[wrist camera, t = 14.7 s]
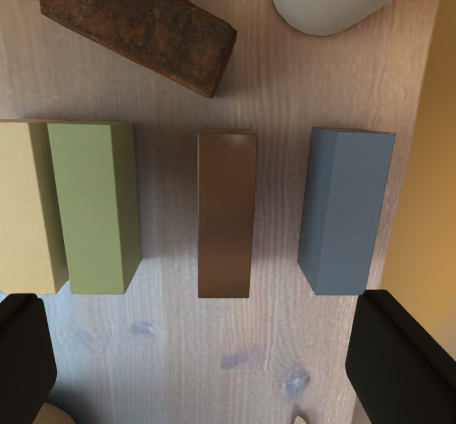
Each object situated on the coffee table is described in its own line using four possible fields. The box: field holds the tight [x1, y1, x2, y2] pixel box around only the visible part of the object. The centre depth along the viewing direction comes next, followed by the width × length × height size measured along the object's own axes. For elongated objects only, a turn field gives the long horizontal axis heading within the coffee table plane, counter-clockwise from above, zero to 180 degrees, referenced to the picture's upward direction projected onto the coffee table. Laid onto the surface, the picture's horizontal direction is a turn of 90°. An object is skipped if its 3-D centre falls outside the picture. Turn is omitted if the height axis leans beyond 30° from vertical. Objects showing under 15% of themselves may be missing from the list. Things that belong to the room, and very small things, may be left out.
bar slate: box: [297, 128, 396, 295], centre depth 22 cm, size 11×4×5 cm, turn 178°
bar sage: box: [47, 121, 141, 294], centre depth 21 cm, size 11×4×5 cm, turn 178°
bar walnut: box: [198, 128, 258, 298], centre depth 22 cm, size 11×4×5 cm, turn 178°
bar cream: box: [0, 119, 69, 294], centre depth 21 cm, size 11×4×5 cm, turn 178°
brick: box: [40, 0, 237, 99], centre depth 18 cm, size 11×4×5 cm, turn 65°
